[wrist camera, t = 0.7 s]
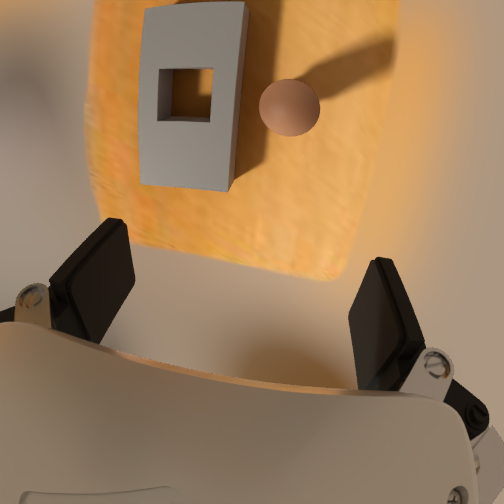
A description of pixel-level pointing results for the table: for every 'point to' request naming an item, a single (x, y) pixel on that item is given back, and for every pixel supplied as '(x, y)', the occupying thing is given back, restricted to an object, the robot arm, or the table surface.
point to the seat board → (161, 84)
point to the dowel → (289, 107)
